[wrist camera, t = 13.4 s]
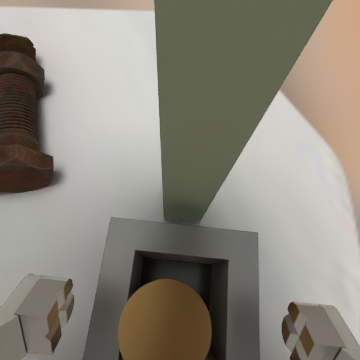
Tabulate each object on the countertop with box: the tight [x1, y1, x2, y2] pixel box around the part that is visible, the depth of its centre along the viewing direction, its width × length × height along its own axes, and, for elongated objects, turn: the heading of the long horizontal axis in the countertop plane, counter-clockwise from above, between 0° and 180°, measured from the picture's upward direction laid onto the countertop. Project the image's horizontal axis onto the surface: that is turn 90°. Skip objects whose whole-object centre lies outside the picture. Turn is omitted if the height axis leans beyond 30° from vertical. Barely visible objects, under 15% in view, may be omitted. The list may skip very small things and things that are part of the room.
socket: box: [83, 217, 260, 360], centre depth 17 cm, size 9×9×6 cm
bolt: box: [0, 34, 53, 192], centre depth 23 cm, size 6×5×15 cm
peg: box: [118, 278, 212, 360], centre depth 15 cm, size 4×4×9 cm
